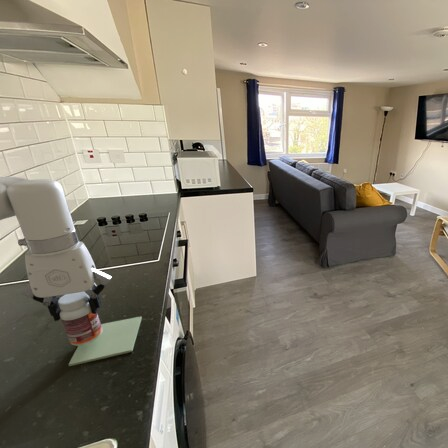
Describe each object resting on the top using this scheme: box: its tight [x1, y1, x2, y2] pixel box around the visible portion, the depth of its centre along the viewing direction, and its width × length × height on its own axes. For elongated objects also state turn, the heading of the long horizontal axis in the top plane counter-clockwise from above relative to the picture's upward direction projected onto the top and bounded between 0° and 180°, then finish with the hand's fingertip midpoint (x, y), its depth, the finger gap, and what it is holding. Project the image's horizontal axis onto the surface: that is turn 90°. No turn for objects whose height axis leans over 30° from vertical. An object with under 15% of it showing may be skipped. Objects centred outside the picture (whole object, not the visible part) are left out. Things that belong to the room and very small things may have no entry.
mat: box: [68, 316, 143, 367], centre depth 64 cm, size 12×12×1 cm
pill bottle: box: [58, 292, 102, 347], centre depth 60 cm, size 6×6×11 cm
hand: (78, 312), depth 59 cm, fingers closed on pill bottle, 6 cm apart
